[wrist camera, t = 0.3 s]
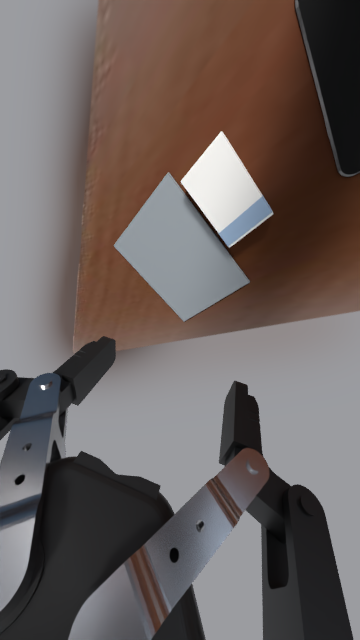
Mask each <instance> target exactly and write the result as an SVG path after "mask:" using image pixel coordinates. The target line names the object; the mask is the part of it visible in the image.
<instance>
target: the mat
mask: <svg viewBox="0 0 360 640" xmlns="http://www.w3.org/2000/svg"><path fill="white" fill-rule="evenodd" d="M114 247H115V248H116V249H117V250H118V251H119V252H120V253H121V254H122V255H123V256H124V258H125V259H126V260H127V261H128V262H129V263H130V264H131V265H132V266H133V267H134V268H135V269H136V270H137V272H138V273H139V274H140V275H141V276H142V277H143V278H144V279H145V280H146V281H147V282H148V283H149V284H150V286H151V287H152V288H153V289H154V290H155V291H156V292H157V293H158V294H159V295H160V296H161V297H162V298H163V300H164V301H165V302H166V303H167V304H168V305H169V306H170V307H171V308H172V309H173V310H174V311H175V312H176V314H177V315H178V316H179V317H180V318H181V319H182V320H183V321H186V320H187V319H189V318H191V317H192V316H194V315H196V314H197V313H199V312H201V311H203V310H204V309H206V308H208V307H209V306H211V305H213V304H214V303H216V302H218V301H219V300H221V299H223V298H224V297H226V296H228V295H229V294H231V293H233V292H234V291H236V290H238V289H239V288H241V287H243V286H244V285H246V284H248V283H249V282H250V281H249V279H248V278H247V277H246V275H245V274H244V273H243V271H242V270H241V268H240V267H239V266H238V264H237V263H236V262H235V260H234V259H233V258H232V256H231V255H230V254H229V252H228V251H227V250H226V248H225V247H224V246H223V244H222V243H221V242H220V240H219V239H218V238H217V236H216V235H215V234H214V232H213V231H212V229H211V228H210V227H209V225H208V224H207V223H206V221H205V220H204V219H203V217H202V216H201V215H200V213H199V212H198V211H197V209H196V208H195V207H194V205H193V204H192V203H191V201H190V200H189V199H188V197H187V196H186V195H185V193H184V192H183V191H182V189H181V188H180V186H179V185H178V184H177V182H176V181H175V180H174V178H173V177H172V176H171V174H170V173H167V174H166V176H165V177H164V179H163V180H162V181H161V183H160V184H159V185H158V187H157V188H156V189H155V191H154V192H153V193H152V195H151V196H150V197H149V199H148V200H147V201H146V203H145V204H144V205H143V207H142V208H141V210H140V211H139V212H138V214H137V215H136V216H135V218H134V219H133V220H132V222H131V223H130V224H129V226H128V227H127V228H126V230H125V231H124V232H123V234H122V235H121V236H120V238H119V239H118V240H117V242H116V243H115V245H114Z"/></svg>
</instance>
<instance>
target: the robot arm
mask: <svg viewBox="0 0 360 640" xmlns="http://www.w3.org/2000/svg"><path fill="white" fill-rule="evenodd" d="M115 354H116V353H115V340H114V339H111V338H108V337H105V336H103V337H101V338H100V339H99V340H98V341H97V342H95V341H93V342H90V343H88V344H86V345H85V346H83V347H82V348H81V349H80V350H79V351H78V352H76V353H75V354H74V355H73V356H72V357H71V358H70V359H68V360H67V361H66V362H65V363H64V364H63V365H61V366H60V367H59V368H58V369H57V370H56V371H54V372H53V373H45V374H42V375H39V376H37V377H36V378H18V377H17V375H16V373H15V372H14V371H12V370H0V440H1V439H2V438H3V437H4V436H5V435H6V434H7V433H8V431H10V434H9V437H8V440H7V443H6V447H5V450H4V453H3V457H2V460H1V463H0V640H206V639H205V635H204V631H203V627H202V623H201V618H200V615H199V610H198V606H197V602H196V598H195V594H194V590H193V585H192V582H193V581H194V580H195V578H196V577H197V576H198V574H199V573H200V572H201V570H202V569H203V568H204V567H205V565H206V564H207V563H208V561H209V560H210V558H211V557H212V556H213V555H214V553H215V552H216V550H217V549H218V548H219V547H220V545H221V544H222V542H223V541H224V540H225V539H226V537H227V536H228V535H229V533H230V532H231V531H232V529H233V528H234V527H235V525H236V524H237V522H238V521H239V518H240V516H241V515H242V514H243V512H244V511H245V510H246V511H247V512H248V513H250V514H251V515H252V516H253V517H254V518H255V519H256V520H257V521H258V522H259V523H261V529H262V593H263V594H262V595H263V640H353V636H352V631H351V627H350V622H349V618H348V614H347V609H346V605H345V600H344V596H343V591H342V587H341V583H340V579H339V574H338V569H337V565H336V561H335V556H334V552H333V548H332V544H331V539H330V534H329V530H328V525H327V521H326V517H325V513H324V510H323V507H322V506H321V504H320V502H319V501H318V499H317V498H316V496H315V495H314V494H313V493H312V492H311V491H310V490H309V489H307V488H306V487H304V486H301V485H293V486H290V485H289V484H288V483H286V482H285V481H284V480H282V479H281V478H280V477H278V476H277V475H276V474H275V473H274V472H272V470H271V469H270V468H269V467H268V465H267V462H266V460H265V459H264V457H263V454H262V446H261V433H260V424H259V421H260V420H259V408H258V404H257V402H256V400H255V398H254V397H253V396H250V395H248V386H247V385H246V384H243V383H240V382H237V381H234V383H233V384H232V386H231V389H230V391H229V393H228V395H227V397H226V400H225V404H224V414H223V425H222V436H221V447H220V457H219V463H220V464H222V465H225V467H224V468H223V469H222V471H220V472H219V473H218V474H217V475H216V476H215V477H214V478H213V479H211V480H209V481H208V482H207V483H206V484H205V485H204V486H203V487H202V488H201V489H200V490H199V491H198V492H197V493H196V494H195V495H194V496H193V497H192V498H191V499H190V500H189V501H188V502H187V503H186V504H185V505H184V506H183V507H182V508H181V509H180V510H179V511H178V512H177V513H176V514H174V512H173V510H172V508H171V506H170V504H169V503H168V501H167V500H166V499H165V497H164V496H163V495H162V494H161V493H160V492H159V489H160V485H158V484H155V483H153V482H151V481H149V480H146V479H144V478H142V477H137V476H126V475H117V474H115V473H114V472H113V471H112V470H111V469H110V468H109V467H108V466H107V465H106V464H104V463H103V462H102V461H101V460H100V459H98V458H96V457H93V456H92V455H89V454H87V453H85V452H83V451H81V452H80V453H79V455H78V456H77V457H67V458H66V456H65V455H66V453H65V452H66V451H65V436H66V423H67V412H68V407H69V406H70V404H71V403H73V404H75V405H79V404H80V403H81V401H82V400H83V399H84V398H85V397H86V396H87V395H88V393H89V392H90V391H91V390H92V388H93V387H94V386H95V385H96V383H98V381H99V380H100V379H101V378H102V377H103V375H104V374H105V373H106V372H107V371H108V369H109V368H110V367H111V366H112V365H113V363H114V361H115V356H116V355H115Z"/></svg>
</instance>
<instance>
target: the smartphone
mask: <svg viewBox="0 0 360 640" xmlns="http://www.w3.org/2000/svg"><path fill="white" fill-rule="evenodd" d="M295 9H296V13H297V17H298V20H299V24H300V28H301V32H302V36H303V40H304V43H305V47H306V51H307V55H308V59H309V63H310V66H311V70H312V74H313V78H314V82H315V86H316V89H317V93H318V97H319V101H320V105H321V109H322V112H323V116H324V120H325V125H326V129H327V133H328V137H329V139H330V143H331V147H332V151H333V155H334V158H335V162H336V166H337V170H338V172H339V174H340V175H342V176H345V177H350V176H354V175H356V174H358V173H360V0H295Z"/></svg>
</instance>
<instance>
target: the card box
mask: <svg viewBox="0 0 360 640" xmlns="http://www.w3.org/2000/svg"><path fill="white" fill-rule="evenodd" d="M181 183H182V184H183V186H184V187H185V188H186V190H187V191H188V192H189V194H190V195H191V197H192V198H193V199H194V201H195V202H196V203H197V205H198V206H199V207H200V209H201V210H202V211H203V213H204V214H205V216H206V217H207V218H208V220H209V221H210V222H211V224H212V225H213V226H214V228H215V229H216V230H217V232H218V233H219V235H220V236H221V238H222V239H223V240H224V242H225V243H226V244H227V246H228V247H229V248H230V247H231V246H233V245H234V244H235V243H237V242H238V241H239V240H240V239H242V238H243V237H244V236H246V235H247V234H248V233H250V232H251V231H252V230H253V229H255V228H256V227H257V226H259V225H260V224H261V223H263V222H264V221H265V220H266V219H268V218H269V217H270V216H272V215H273V211H272V209H271V208H270V206H269V204H268V203H267V201H266V200H265V198H264V196H263V195H262V194H261V192H260V190H259V189H258V187H257V186H256V184H255V182H254V181H253V179H252V178H251V176H250V174H249V173H248V171H247V170H246V168H245V166H244V165H243V163H242V162H241V160H240V158H239V157H238V155H237V154H236V152H235V150H234V149H233V147H232V146H231V144H230V142H229V141H228V139H227V138H226V136H225V135H224V134H223V132H222V131H221V132H220V134H219V135H218V136H217V137H216V139H215V140H214V141H213V142H212V143H211V145H210V146H209V147H208V148H207V150H206V151H205V152H204V153H203V155H202V156H201V157H200V158H199V159H198V161H197V162H196V163H195V164H194V166H193V167H192V168H191V169H190V171H189V172H188V173H187V174H186V175H185V177H184V178H183V179H182V180H181Z"/></svg>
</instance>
